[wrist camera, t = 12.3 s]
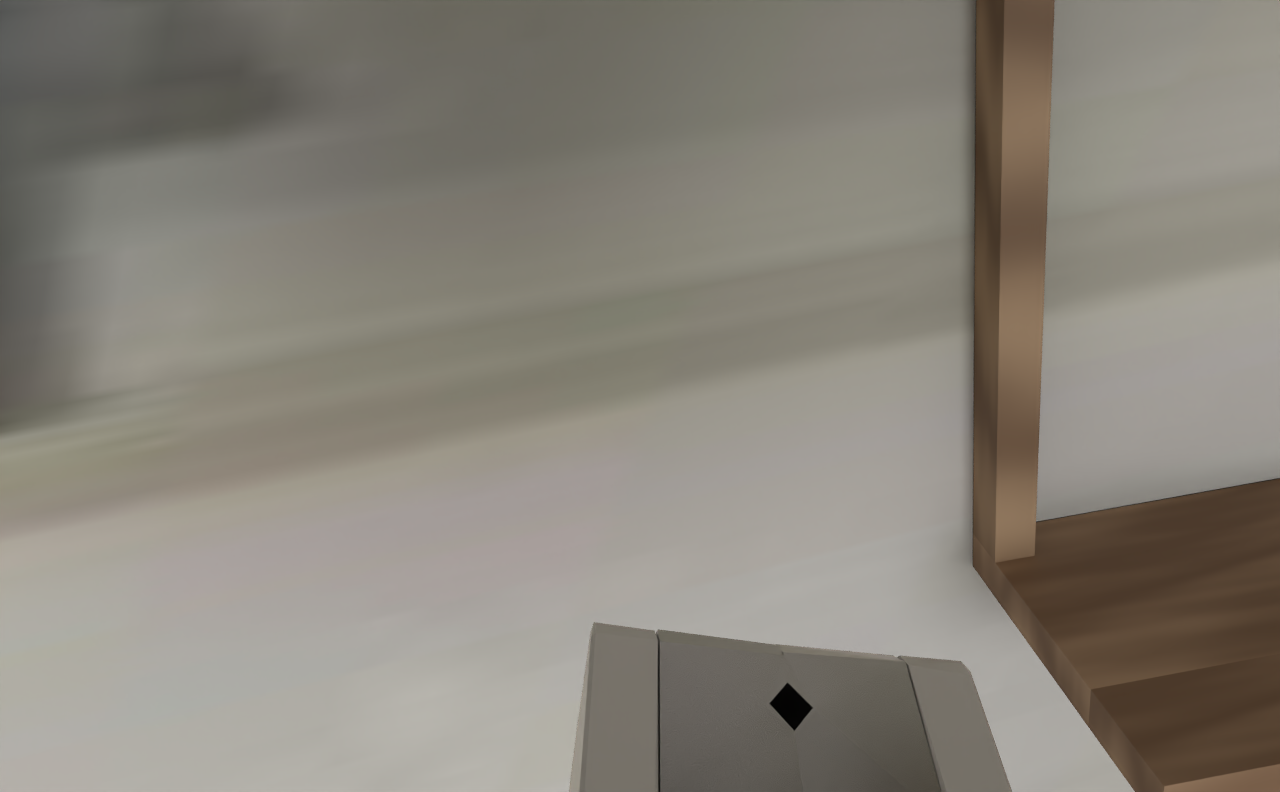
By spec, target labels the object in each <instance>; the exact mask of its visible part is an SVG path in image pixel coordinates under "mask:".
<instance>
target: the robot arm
mask: <svg viewBox="0 0 1280 792" xmlns="http://www.w3.org/2000/svg"><path fill="white" fill-rule="evenodd" d="M569 792H1012V790H1011V787H1010V784H1009V781H1008V779H1007V776H1006V773H1005V770H1004V767H1003V764H1002V761H1001V758H1000V756H999V753H998V750H997V747H996V744H995V741H994V738H993V735H992V733H991V730H990V727H989V724H988V721H987V718H986V715H985V712H984V710H983V707H982V704H981V701H980V698H979V695H978V692H977V689H976V687H975V684H974V681H973V678H972V675H971V672H970V671H969V669H968V668H967V667H966V666H965V665H964V664H963V663H962V662H961V661H952V660H942V659H931V658H920V657H909V656H899V657H895V656H893V655H882V654H872V653H862V652H851V651H841V650H831V649H820V648H810V647H799V646H789V645H779V644H776V645H774V644H766V643H758V642H751V641H743V640H735V639H728V638H720V637H712V636H704V635H697V634H689V633H681V632H674V631H666V630H657V632H656V634H655V631H653V630H646V629H639V628H631V627H624V626H617V625H609V624H602V623H595V622H594V623H593V626H592V630H591V634H590V640H589V647H588V654H587V661H586V668H585V675H584V682H583V689H582V696H581V702H580V709H579V716H578V723H577V731H576V739H575V747H574V755H573V762H572V770H571V778H570V787H569Z"/></svg>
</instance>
